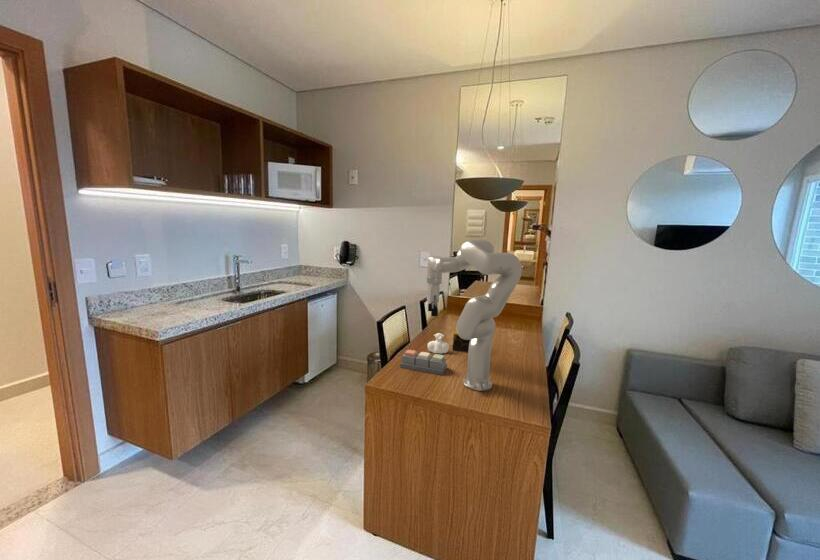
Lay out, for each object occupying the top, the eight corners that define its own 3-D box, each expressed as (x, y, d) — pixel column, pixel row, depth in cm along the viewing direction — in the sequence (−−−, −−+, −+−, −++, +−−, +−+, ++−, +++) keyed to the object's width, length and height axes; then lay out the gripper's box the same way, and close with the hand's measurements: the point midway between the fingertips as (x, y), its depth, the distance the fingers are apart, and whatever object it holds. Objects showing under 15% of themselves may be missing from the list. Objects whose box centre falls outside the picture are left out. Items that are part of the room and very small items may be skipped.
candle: (470, 352, 185) (471, 335, 183) (452, 350, 186) (453, 333, 185) (470, 346, 194) (471, 330, 193) (453, 344, 196) (454, 328, 195)
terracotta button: (416, 356, 166) (416, 350, 165) (413, 360, 161) (413, 353, 161) (407, 355, 167) (408, 349, 167) (404, 358, 163) (404, 352, 162)
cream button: (429, 359, 163) (429, 353, 163) (426, 362, 159) (427, 356, 159) (421, 357, 165) (421, 351, 164) (418, 360, 161) (418, 354, 160)
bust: (448, 356, 184) (450, 337, 189) (448, 352, 177) (450, 332, 183) (427, 354, 186) (429, 335, 191) (426, 350, 179) (428, 330, 185)
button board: (446, 367, 163) (447, 357, 162) (442, 375, 155) (442, 363, 154) (406, 360, 170) (407, 350, 169) (400, 367, 162) (400, 356, 161)
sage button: (443, 361, 161) (443, 355, 161) (441, 364, 157) (441, 358, 156) (434, 360, 162) (435, 353, 162) (432, 363, 158) (432, 357, 158)
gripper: (424, 277, 176) (422, 309, 179) (429, 283, 159) (428, 318, 162) (438, 278, 177) (436, 309, 180) (445, 283, 160) (443, 318, 163)
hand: (432, 313), depth 171 cm, fingers open, 9 cm apart
